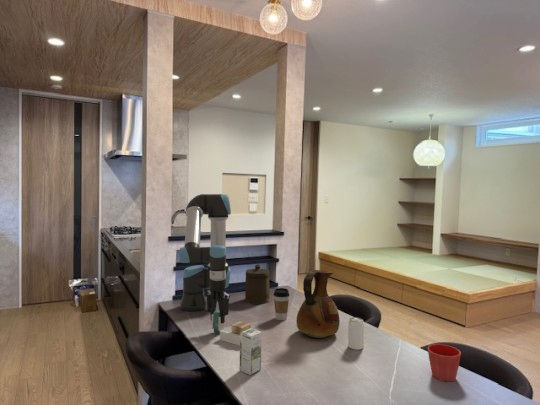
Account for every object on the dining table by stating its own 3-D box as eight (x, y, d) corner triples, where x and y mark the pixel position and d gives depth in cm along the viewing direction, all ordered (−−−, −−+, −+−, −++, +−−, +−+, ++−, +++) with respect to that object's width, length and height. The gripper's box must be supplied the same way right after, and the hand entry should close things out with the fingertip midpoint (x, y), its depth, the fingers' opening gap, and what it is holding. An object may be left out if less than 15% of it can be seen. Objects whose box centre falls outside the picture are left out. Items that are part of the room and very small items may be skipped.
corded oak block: (210, 334, 168) (210, 312, 168) (218, 330, 173) (219, 309, 173) (242, 343, 157) (242, 321, 157) (250, 339, 162) (250, 317, 162)
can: (364, 345, 157) (364, 317, 157) (363, 351, 151) (363, 322, 151) (349, 343, 159) (349, 316, 159) (347, 349, 153) (347, 320, 153)
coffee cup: (289, 316, 194) (289, 288, 193) (288, 321, 185) (289, 292, 185) (274, 315, 195) (274, 287, 194) (272, 320, 186) (272, 291, 186)
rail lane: (219, 339, 162) (219, 330, 162) (234, 332, 170) (234, 323, 170) (244, 347, 154) (244, 337, 154) (258, 339, 163) (258, 330, 163)
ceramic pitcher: (347, 333, 170) (348, 270, 169) (322, 346, 155) (323, 277, 155) (313, 323, 184) (314, 264, 183) (287, 334, 169) (288, 270, 168)
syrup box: (249, 365, 138) (250, 327, 138) (261, 370, 134) (261, 331, 134) (239, 370, 134) (239, 331, 133) (251, 376, 130) (251, 336, 129)
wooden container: (265, 296, 231) (265, 261, 231) (272, 302, 217) (272, 266, 216) (242, 298, 227) (242, 263, 226) (248, 305, 212) (248, 267, 212)
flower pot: (421, 369, 136) (422, 344, 135) (449, 368, 137) (450, 343, 136) (436, 384, 125) (437, 356, 125) (467, 383, 126) (467, 355, 126)
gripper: (199, 278, 170) (198, 327, 171) (226, 283, 161) (225, 335, 162) (210, 275, 176) (209, 322, 177) (236, 279, 167) (236, 330, 168)
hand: (217, 328), depth 169 cm, fingers closed on corded oak block, 4 cm apart
